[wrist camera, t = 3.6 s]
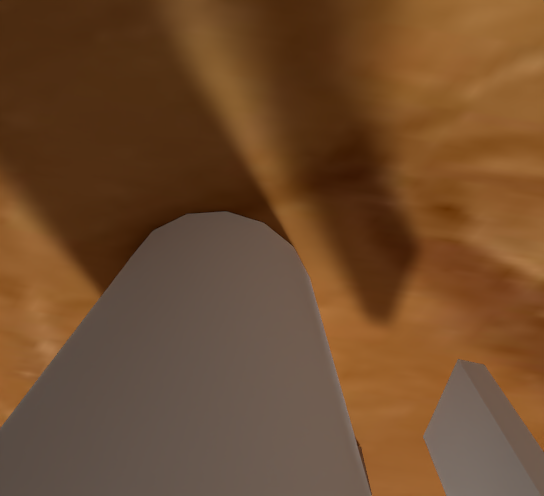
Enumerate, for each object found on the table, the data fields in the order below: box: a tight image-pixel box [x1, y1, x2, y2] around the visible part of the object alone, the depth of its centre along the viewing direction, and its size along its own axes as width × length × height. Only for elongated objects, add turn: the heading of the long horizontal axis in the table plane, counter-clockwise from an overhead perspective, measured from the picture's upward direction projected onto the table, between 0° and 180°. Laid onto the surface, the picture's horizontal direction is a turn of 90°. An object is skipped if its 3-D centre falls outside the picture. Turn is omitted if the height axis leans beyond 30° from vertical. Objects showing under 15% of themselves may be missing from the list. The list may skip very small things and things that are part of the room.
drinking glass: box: [0, 211, 371, 496], centre depth 11 cm, size 7×7×10 cm
